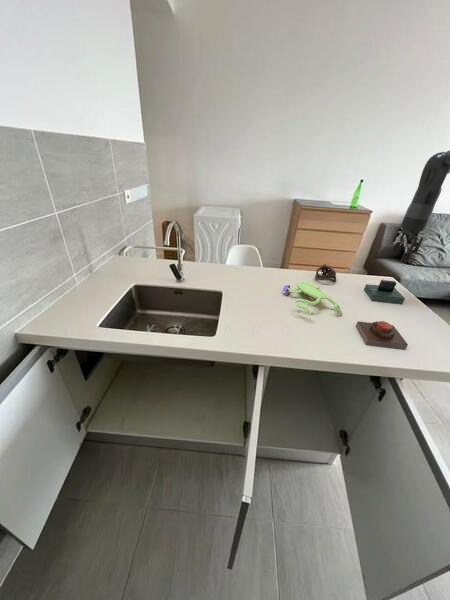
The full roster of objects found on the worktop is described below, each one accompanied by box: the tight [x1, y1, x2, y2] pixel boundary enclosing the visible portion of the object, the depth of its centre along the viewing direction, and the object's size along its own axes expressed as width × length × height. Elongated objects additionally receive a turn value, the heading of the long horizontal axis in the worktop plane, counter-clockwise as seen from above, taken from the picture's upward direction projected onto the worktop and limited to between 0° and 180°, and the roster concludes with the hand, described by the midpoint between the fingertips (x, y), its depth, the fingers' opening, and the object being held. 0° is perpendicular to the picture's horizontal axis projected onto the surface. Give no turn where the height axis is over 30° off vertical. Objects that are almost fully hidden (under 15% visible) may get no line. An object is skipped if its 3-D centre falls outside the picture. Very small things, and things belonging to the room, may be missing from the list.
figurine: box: [282, 281, 343, 316], centre depth 97 cm, size 18×27×6 cm
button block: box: [355, 320, 408, 351], centre depth 80 cm, size 12×10×4 cm
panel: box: [363, 283, 406, 305], centre depth 105 cm, size 12×10×3 cm
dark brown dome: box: [314, 264, 337, 283], centre depth 117 cm, size 12×10×8 cm
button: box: [376, 320, 392, 332], centre depth 79 cm, size 4×4×2 cm
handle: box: [378, 279, 397, 292], centre depth 103 cm, size 6×2×5 cm, turn 83°
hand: (398, 257), depth 97 cm, fingers open, 8 cm apart
